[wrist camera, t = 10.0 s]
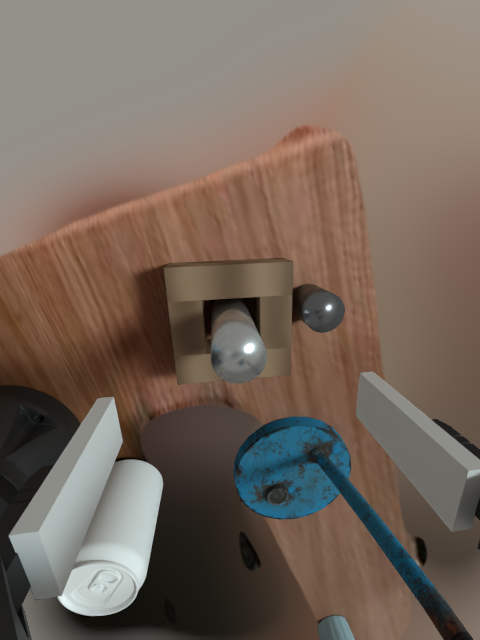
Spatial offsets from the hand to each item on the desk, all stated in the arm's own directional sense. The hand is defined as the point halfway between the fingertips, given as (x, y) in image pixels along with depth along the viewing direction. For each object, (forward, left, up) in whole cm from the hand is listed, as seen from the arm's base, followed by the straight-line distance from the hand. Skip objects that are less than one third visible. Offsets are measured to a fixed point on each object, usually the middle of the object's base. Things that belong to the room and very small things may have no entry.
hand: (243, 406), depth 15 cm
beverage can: (-14, -22, -17) cm, 31 cm away
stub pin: (+9, +1, -17) cm, 20 cm away
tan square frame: (0, 0, -17) cm, 17 cm away
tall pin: (0, 0, -17) cm, 17 cm away
